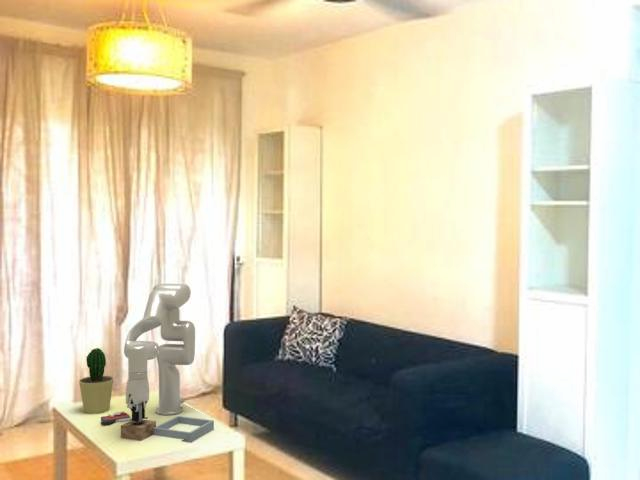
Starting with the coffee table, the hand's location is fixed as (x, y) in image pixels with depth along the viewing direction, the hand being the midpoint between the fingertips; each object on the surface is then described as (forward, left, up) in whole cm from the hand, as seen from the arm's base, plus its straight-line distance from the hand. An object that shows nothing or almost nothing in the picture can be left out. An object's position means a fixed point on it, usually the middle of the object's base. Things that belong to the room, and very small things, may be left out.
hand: (138, 419), depth 270 cm
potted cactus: (-25, -43, -8) cm, 50 cm away
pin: (0, 0, -7) cm, 7 cm away
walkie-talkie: (-16, -20, -8) cm, 27 cm away
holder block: (0, 0, -8) cm, 8 cm away
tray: (-12, +14, -8) cm, 20 cm away
